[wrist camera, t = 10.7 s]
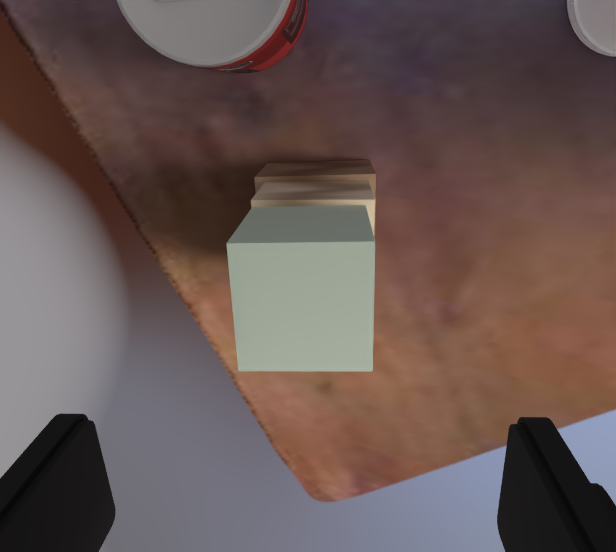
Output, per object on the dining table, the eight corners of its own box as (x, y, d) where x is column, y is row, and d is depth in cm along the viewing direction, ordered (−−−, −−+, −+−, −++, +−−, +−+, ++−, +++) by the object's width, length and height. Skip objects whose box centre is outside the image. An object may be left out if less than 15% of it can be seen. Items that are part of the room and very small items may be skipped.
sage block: (365, 205, 23) (375, 241, 18) (364, 308, 25) (372, 371, 20) (252, 207, 24) (226, 243, 18) (259, 309, 26) (238, 371, 20)
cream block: (369, 159, 33) (375, 173, 28) (368, 256, 36) (374, 287, 30) (267, 162, 34) (254, 177, 28) (274, 257, 36) (262, 288, 31)
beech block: (368, 181, 28) (375, 199, 23) (365, 278, 30) (371, 313, 25) (264, 181, 28) (250, 200, 23) (269, 278, 30) (257, 312, 26)
